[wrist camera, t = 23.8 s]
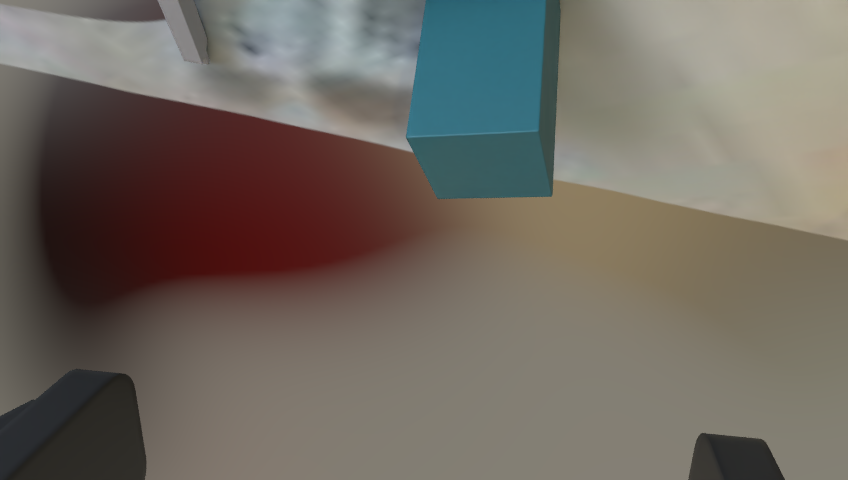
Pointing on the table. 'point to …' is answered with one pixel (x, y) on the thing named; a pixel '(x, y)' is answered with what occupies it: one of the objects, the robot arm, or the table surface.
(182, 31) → the caliper
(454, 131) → the block
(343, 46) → the table surface
